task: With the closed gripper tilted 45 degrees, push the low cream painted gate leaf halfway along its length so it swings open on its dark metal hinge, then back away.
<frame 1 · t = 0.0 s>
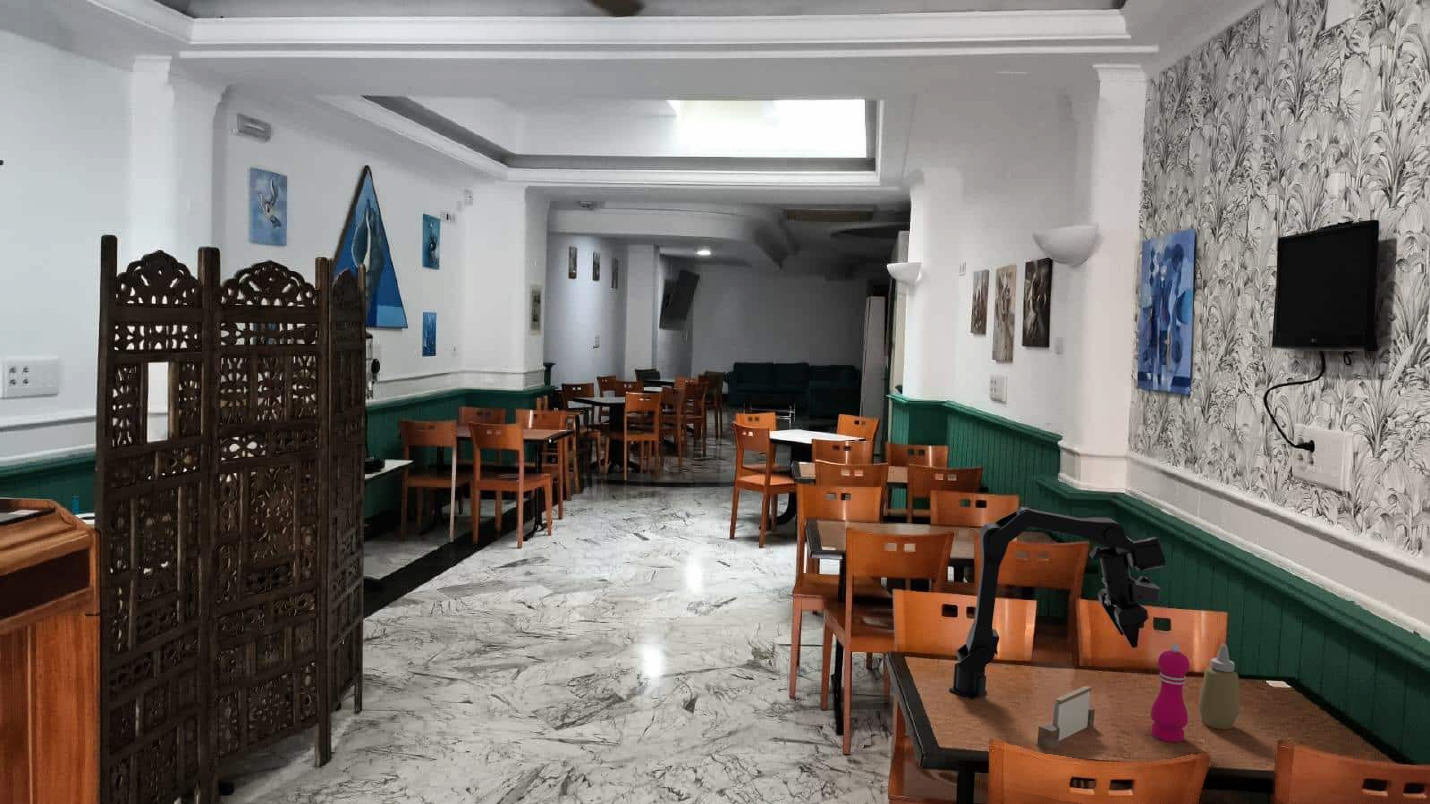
hand: (1128, 640, 224), 15 cm above the table, tool pointing down, fingers open, 9 cm apart
gate: (1070, 713, 207), point 5 cm above the table, hinge at 0.0°
pepper mill: (1167, 737, 210), on the table
squeeze bottle: (1216, 725, 218), on the table
gate frame: (1053, 743, 203), on the table
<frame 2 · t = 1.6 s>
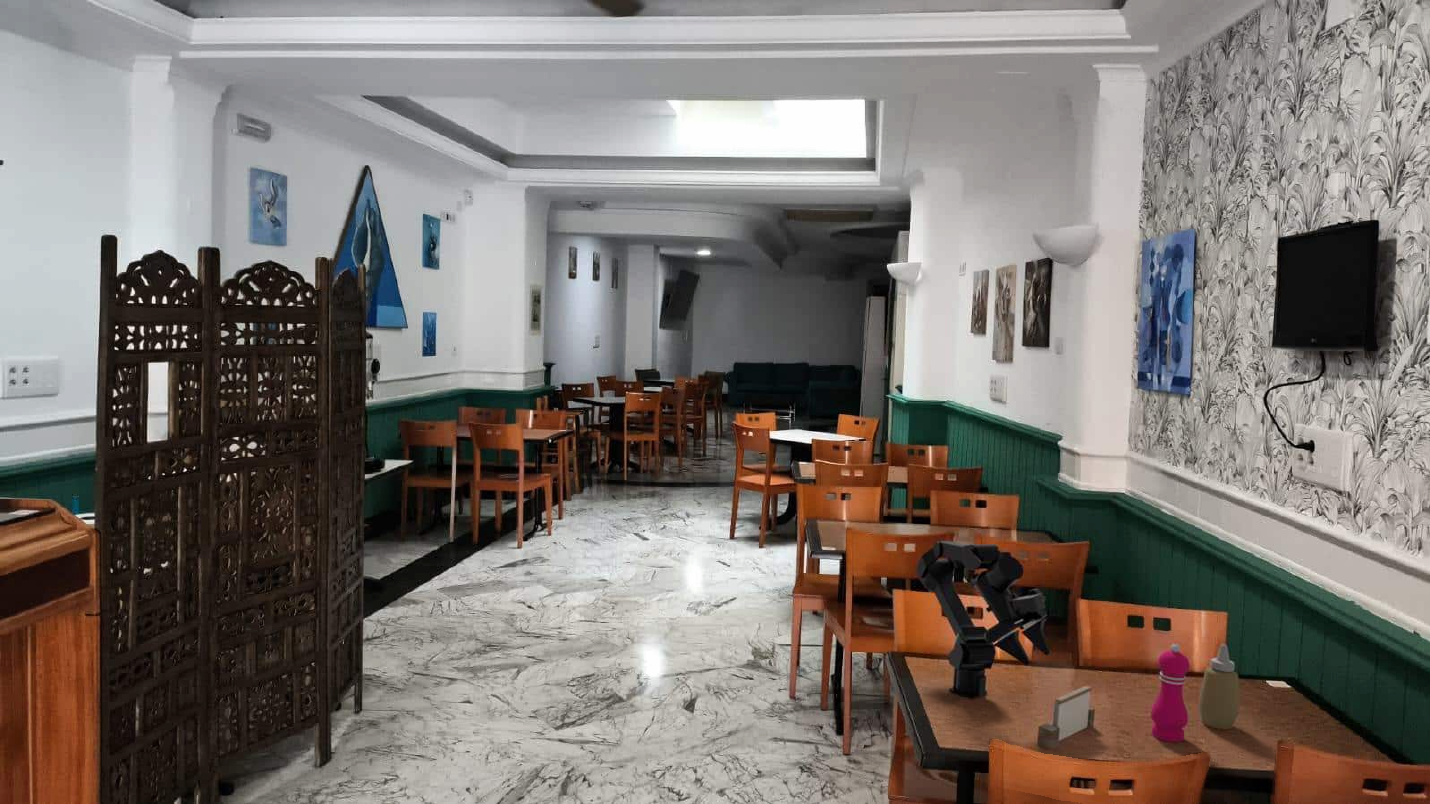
hand: (1038, 659, 214), 13 cm above the table, tool tilted 40°, fingers open, 9 cm apart
nothing on the table moved.
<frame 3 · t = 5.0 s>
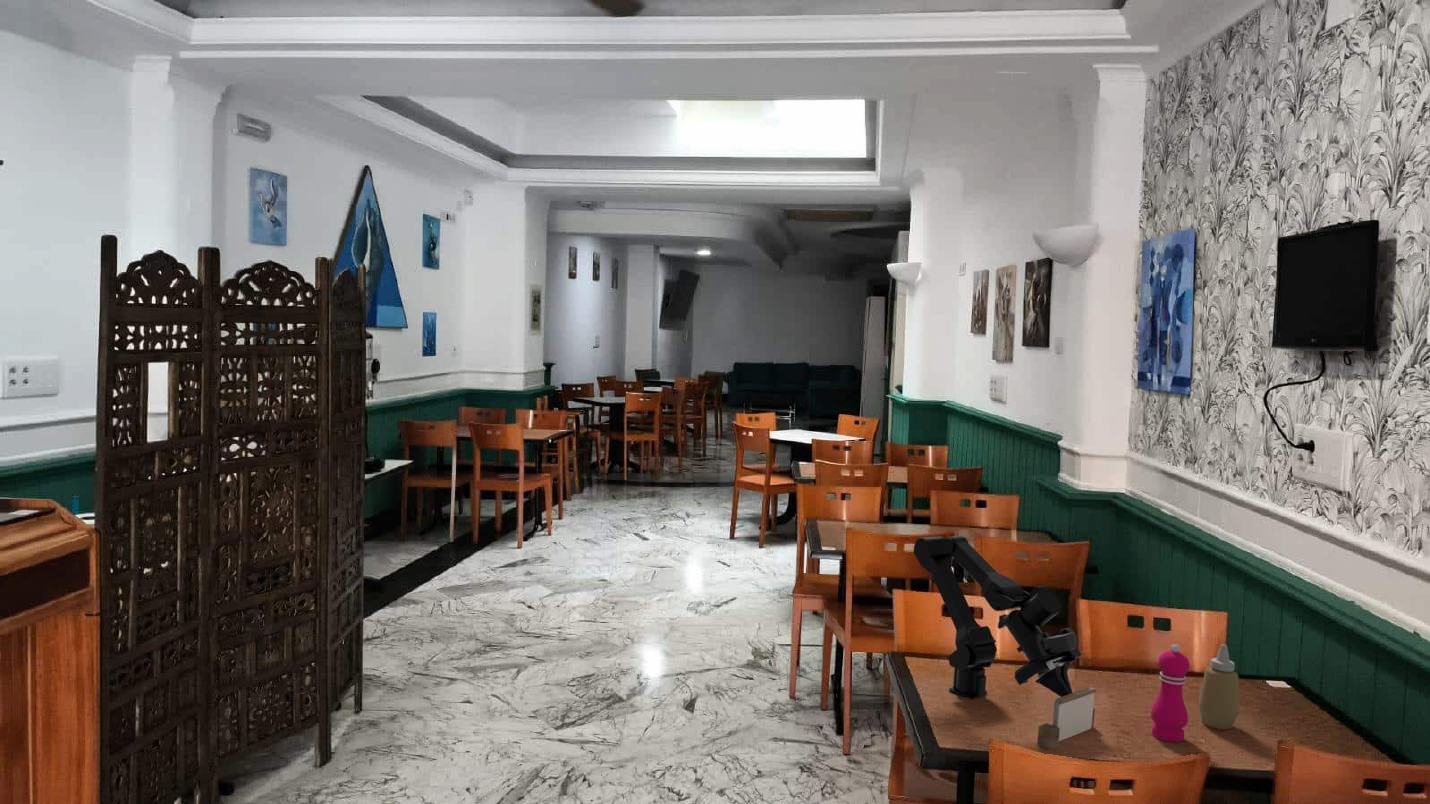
hand: (1072, 701, 207), 7 cm above the table, tool tilted 45°, fingers closed, pressing on gate
gate: (1073, 714, 207), point 5 cm above the table, hinge at 4.2°, touching gripper
everything else where it was.
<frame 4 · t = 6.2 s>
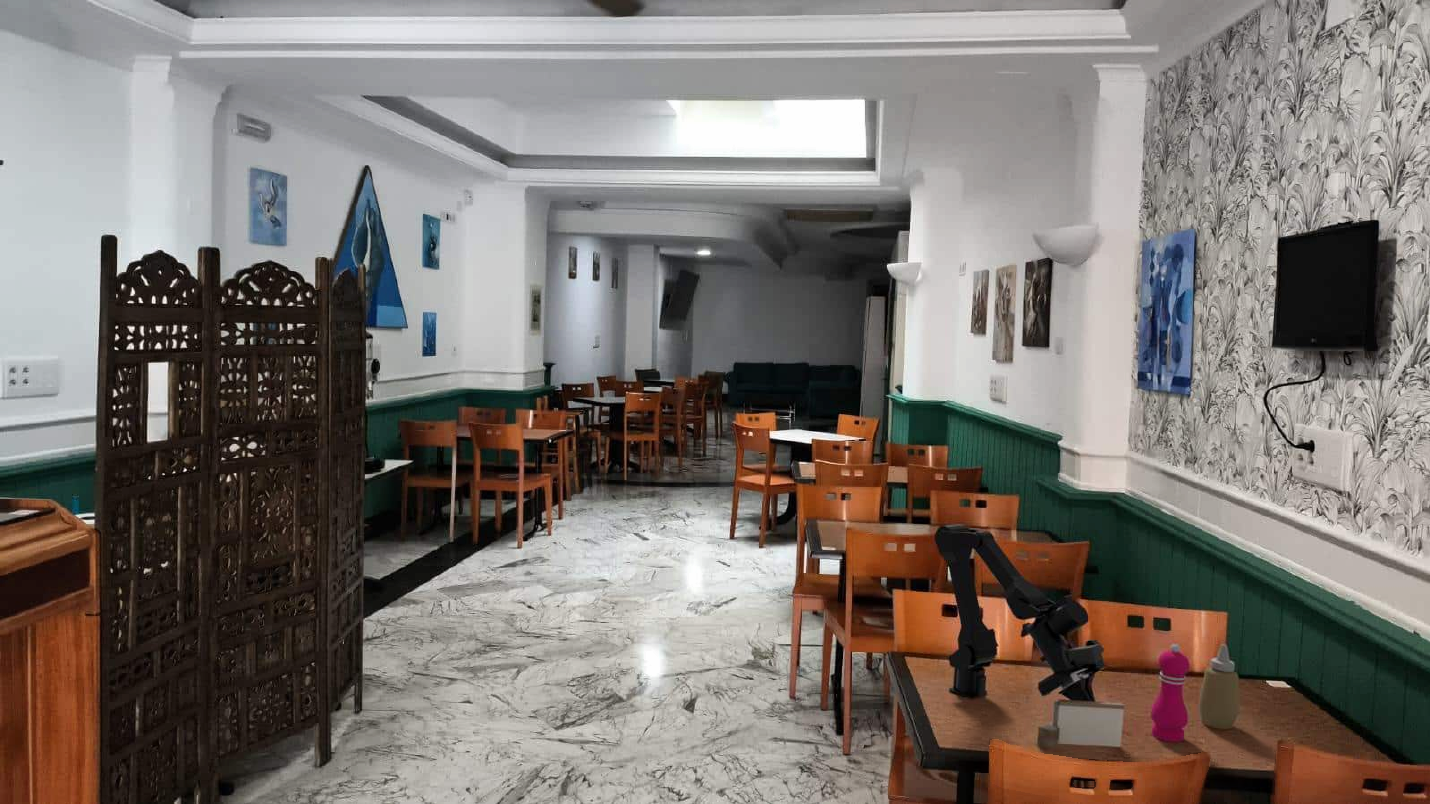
hand: (1095, 714, 204), 6 cm above the table, tool tilted 45°, fingers closed
gate: (1087, 723, 203), point 5 cm above the table, hinge at 44.1°, touching gripper
everything else where it was.
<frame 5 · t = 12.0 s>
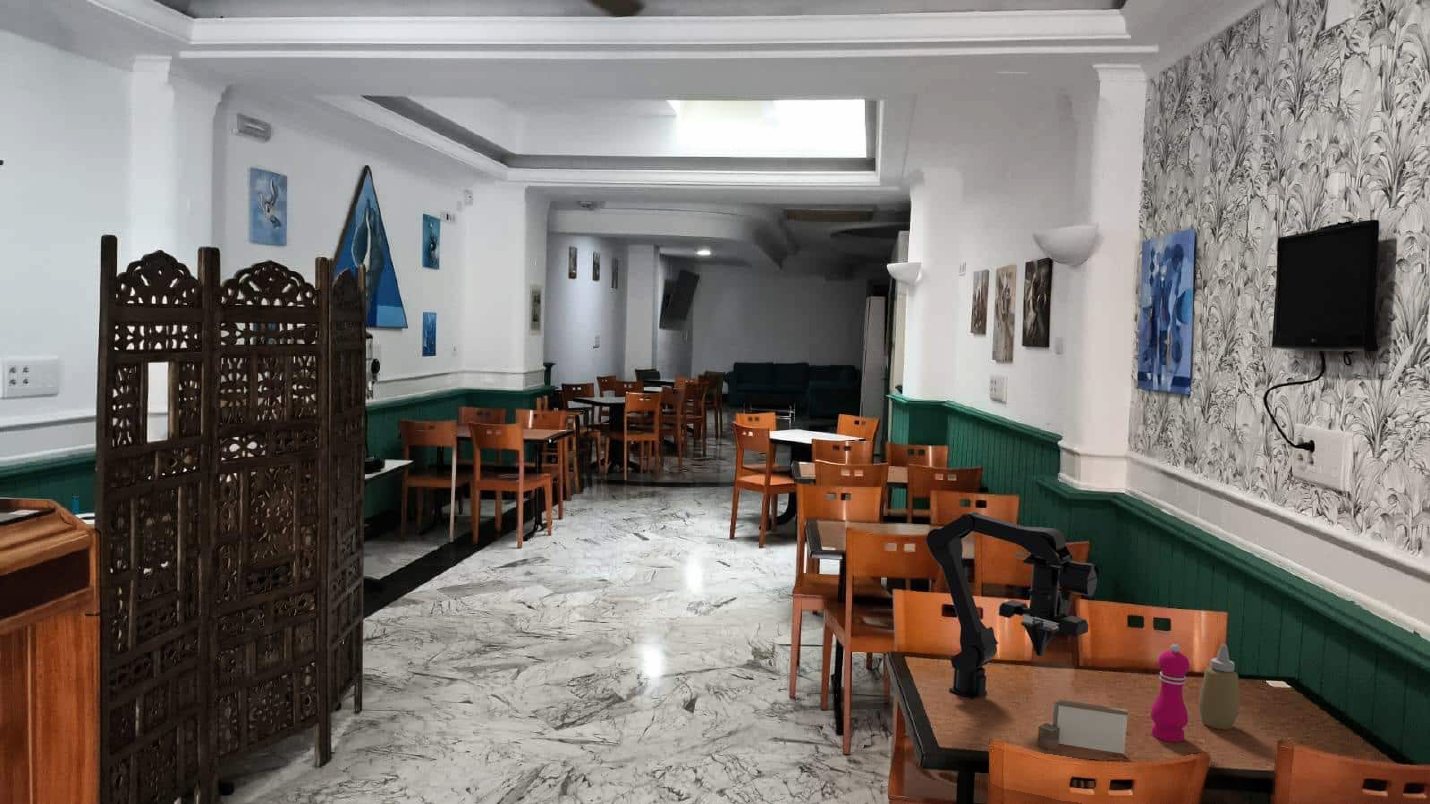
hand: (1039, 655, 218), 13 cm above the table, tool pointing down, fingers closed
gate: (1089, 726, 201), point 5 cm above the table, hinge at 58.6°
everything else where it was.
at the end: gate at +59° (first picture: +0°); pepper mill moved 0.2 cm from its start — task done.
